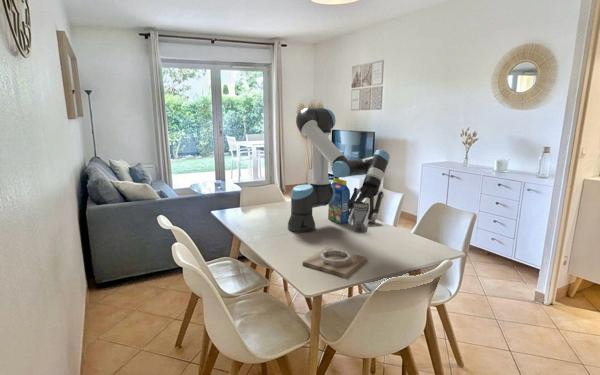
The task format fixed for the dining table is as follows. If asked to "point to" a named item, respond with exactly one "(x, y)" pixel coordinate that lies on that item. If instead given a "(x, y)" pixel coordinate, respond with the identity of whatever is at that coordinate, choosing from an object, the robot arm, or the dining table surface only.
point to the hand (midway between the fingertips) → (357, 223)
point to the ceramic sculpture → (373, 218)
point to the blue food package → (339, 202)
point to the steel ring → (335, 262)
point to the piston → (360, 216)
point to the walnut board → (339, 269)
